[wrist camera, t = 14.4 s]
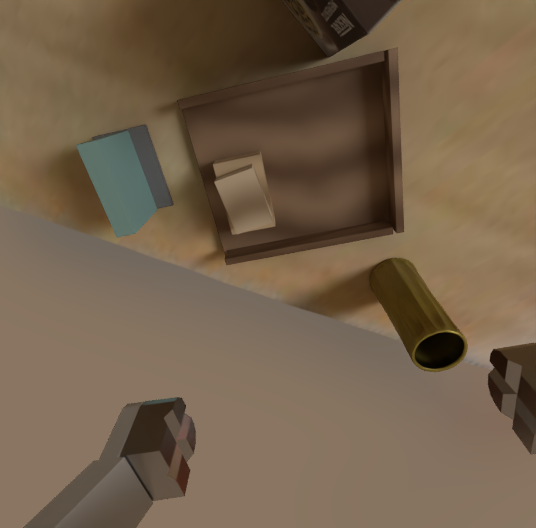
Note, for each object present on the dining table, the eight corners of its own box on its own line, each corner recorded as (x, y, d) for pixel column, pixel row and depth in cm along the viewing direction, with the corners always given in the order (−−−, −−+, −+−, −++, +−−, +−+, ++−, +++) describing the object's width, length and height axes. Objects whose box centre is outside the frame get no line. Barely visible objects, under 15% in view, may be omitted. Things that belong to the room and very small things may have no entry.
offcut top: (217, 176, 36) (214, 181, 35) (252, 163, 36) (251, 168, 34) (238, 227, 39) (237, 234, 37) (272, 215, 38) (272, 222, 36)
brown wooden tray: (181, 99, 36) (173, 101, 33) (386, 50, 34) (397, 47, 31) (226, 253, 44) (223, 265, 41) (394, 221, 42) (404, 232, 39)
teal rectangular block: (110, 134, 37) (75, 145, 31) (128, 130, 37) (96, 140, 30) (141, 212, 41) (116, 237, 35) (157, 209, 41) (135, 233, 34)
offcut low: (215, 160, 38) (212, 164, 36) (260, 150, 37) (259, 154, 35) (234, 227, 41) (232, 234, 39) (275, 219, 41) (275, 226, 39)
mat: (94, 136, 38) (92, 137, 37) (145, 124, 37) (144, 125, 37) (126, 214, 42) (124, 215, 41) (173, 204, 41) (172, 205, 41)
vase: (360, 278, 46) (394, 352, 33) (398, 248, 44) (450, 314, 31) (388, 305, 48) (431, 385, 35) (426, 277, 46) (486, 351, 33)
